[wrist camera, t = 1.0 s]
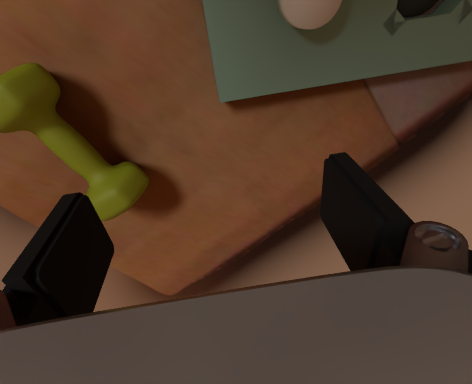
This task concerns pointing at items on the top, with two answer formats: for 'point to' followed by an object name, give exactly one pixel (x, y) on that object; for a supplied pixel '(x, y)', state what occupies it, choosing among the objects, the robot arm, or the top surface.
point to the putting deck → (330, 43)
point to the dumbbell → (66, 139)
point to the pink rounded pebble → (307, 12)
